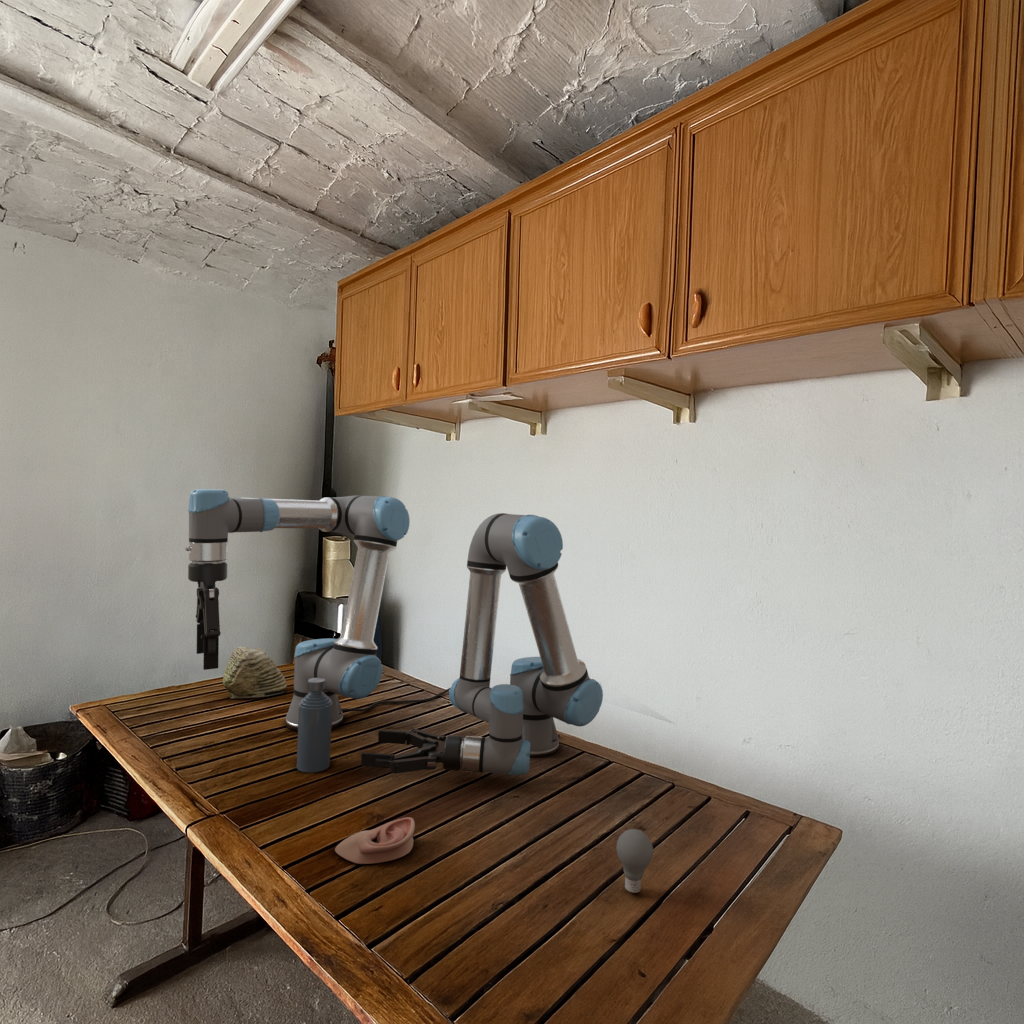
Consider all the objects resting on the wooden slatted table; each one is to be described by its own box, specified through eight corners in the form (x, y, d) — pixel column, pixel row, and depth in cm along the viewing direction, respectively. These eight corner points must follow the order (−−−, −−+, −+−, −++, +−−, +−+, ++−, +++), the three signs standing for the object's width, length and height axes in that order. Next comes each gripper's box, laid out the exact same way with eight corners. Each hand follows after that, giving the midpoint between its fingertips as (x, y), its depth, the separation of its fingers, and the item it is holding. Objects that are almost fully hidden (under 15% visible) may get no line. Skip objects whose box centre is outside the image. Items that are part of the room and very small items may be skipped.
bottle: (332, 769, 147) (335, 684, 147) (298, 774, 144) (301, 687, 143) (327, 757, 154) (330, 676, 153) (294, 761, 151) (297, 678, 150)
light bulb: (610, 879, 108) (613, 822, 108) (644, 879, 109) (647, 822, 109) (619, 902, 102) (622, 840, 102) (655, 901, 103) (658, 840, 103)
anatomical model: (327, 836, 111) (356, 806, 122) (326, 858, 111) (355, 826, 122) (398, 848, 108) (421, 815, 119) (397, 871, 108) (420, 836, 119)
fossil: (218, 695, 195) (220, 647, 195) (278, 685, 208) (279, 640, 207) (228, 703, 189) (230, 653, 188) (289, 692, 201) (290, 645, 201)
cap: (326, 690, 147) (326, 681, 147) (308, 692, 146) (308, 683, 146) (323, 685, 151) (324, 677, 151) (306, 687, 149) (306, 678, 149)
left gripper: (183, 555, 143) (182, 648, 144) (194, 569, 122) (193, 678, 123) (219, 554, 147) (218, 645, 148) (236, 568, 126) (234, 673, 127)
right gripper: (453, 795, 132) (352, 787, 133) (468, 748, 157) (384, 742, 158) (454, 759, 132) (354, 752, 133) (470, 718, 156) (385, 712, 158)
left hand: (206, 660), depth 135 cm, fingers open, 13 cm apart
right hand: (370, 747), depth 145 cm, fingers open, 13 cm apart
